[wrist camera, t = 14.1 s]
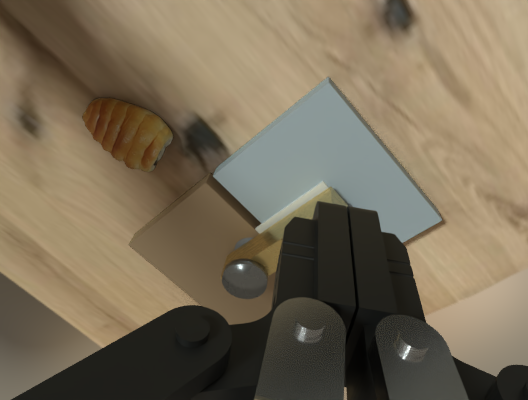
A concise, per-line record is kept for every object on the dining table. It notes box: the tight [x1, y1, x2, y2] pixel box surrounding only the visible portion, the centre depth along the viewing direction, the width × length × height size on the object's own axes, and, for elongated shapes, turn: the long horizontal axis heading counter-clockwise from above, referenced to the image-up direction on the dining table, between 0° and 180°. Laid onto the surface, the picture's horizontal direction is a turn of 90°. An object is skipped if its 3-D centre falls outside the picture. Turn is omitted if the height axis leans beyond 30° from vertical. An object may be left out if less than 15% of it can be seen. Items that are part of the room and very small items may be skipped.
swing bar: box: [221, 187, 348, 299], centre depth 49 cm, size 16×5×5 cm, turn 132°
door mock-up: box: [129, 77, 442, 325], centre depth 51 cm, size 20×31×6 cm, turn 132°
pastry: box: [82, 98, 173, 172], centre depth 48 cm, size 9×7×4 cm
